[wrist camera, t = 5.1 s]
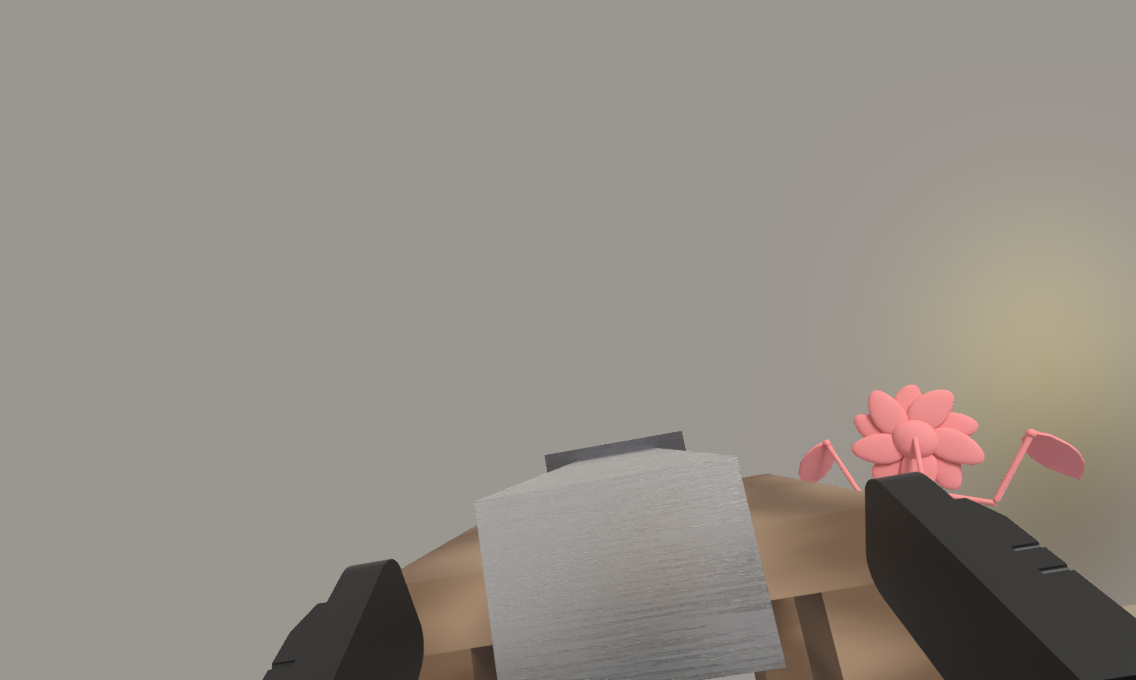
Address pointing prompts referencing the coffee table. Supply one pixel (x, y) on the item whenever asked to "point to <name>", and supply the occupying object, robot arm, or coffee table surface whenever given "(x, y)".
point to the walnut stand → (793, 575)
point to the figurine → (931, 443)
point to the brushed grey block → (627, 568)
